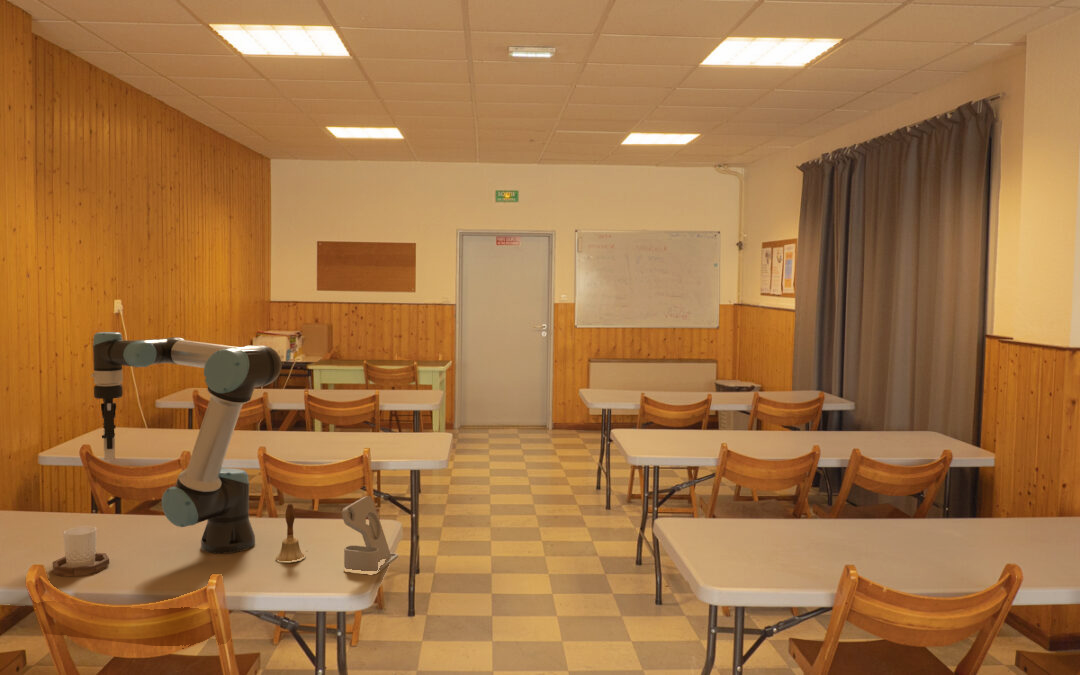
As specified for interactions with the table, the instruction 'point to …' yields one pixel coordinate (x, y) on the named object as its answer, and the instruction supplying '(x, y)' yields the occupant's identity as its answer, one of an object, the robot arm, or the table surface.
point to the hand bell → (290, 539)
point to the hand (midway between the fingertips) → (109, 455)
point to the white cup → (80, 546)
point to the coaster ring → (63, 570)
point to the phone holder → (366, 537)
